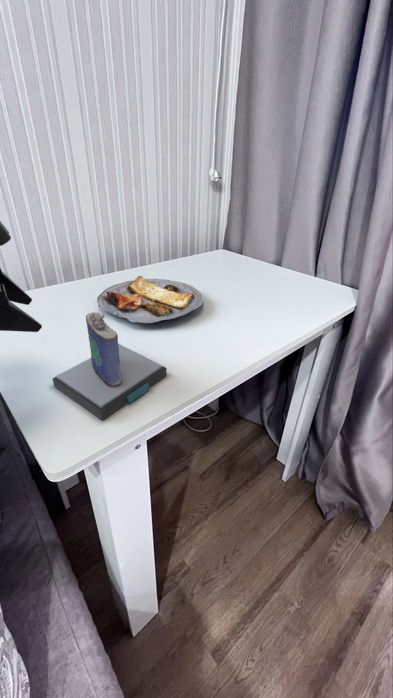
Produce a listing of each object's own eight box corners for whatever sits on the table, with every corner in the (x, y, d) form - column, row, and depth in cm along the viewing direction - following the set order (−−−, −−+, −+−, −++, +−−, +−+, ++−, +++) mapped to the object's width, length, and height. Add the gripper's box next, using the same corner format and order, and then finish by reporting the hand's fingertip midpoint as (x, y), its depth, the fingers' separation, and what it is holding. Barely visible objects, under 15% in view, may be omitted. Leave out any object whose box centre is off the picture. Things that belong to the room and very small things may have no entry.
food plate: (79, 305, 80) (77, 291, 78) (147, 279, 96) (146, 267, 94) (155, 340, 67) (155, 325, 65) (219, 304, 83) (220, 291, 81)
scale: (104, 422, 48) (102, 410, 47) (54, 387, 54) (51, 375, 53) (168, 377, 57) (168, 366, 56) (119, 351, 64) (118, 341, 62)
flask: (125, 384, 52) (119, 324, 46) (107, 390, 50) (98, 329, 44) (104, 356, 58) (96, 299, 52) (87, 361, 57) (77, 303, 51)
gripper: (-57, 199, 29) (86, 295, 40) (-50, 176, 43) (56, 252, 53) (-129, 297, 30) (31, 364, 41) (-100, 244, 43) (15, 305, 54)
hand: (34, 314), depth 47 cm, fingers open, 9 cm apart
